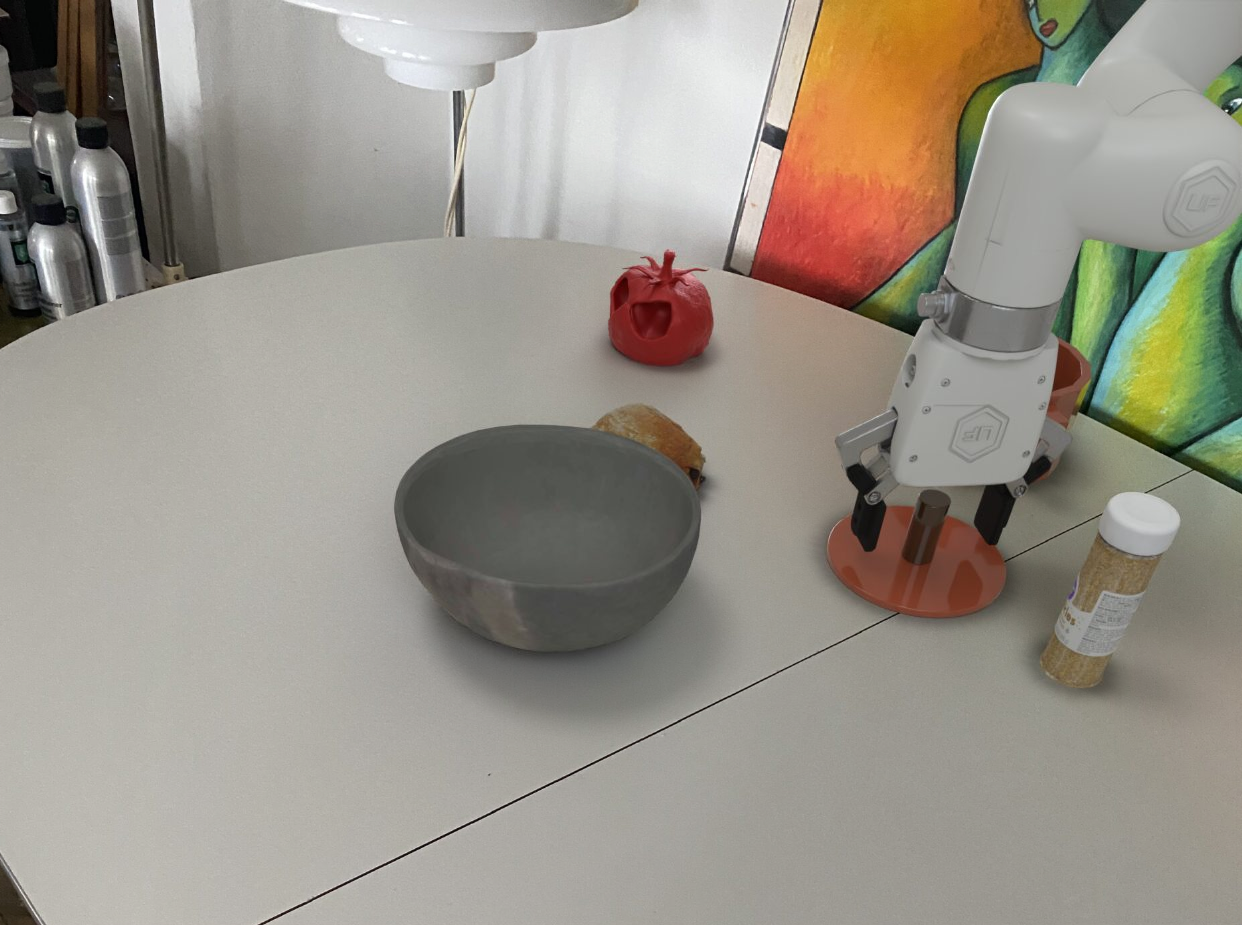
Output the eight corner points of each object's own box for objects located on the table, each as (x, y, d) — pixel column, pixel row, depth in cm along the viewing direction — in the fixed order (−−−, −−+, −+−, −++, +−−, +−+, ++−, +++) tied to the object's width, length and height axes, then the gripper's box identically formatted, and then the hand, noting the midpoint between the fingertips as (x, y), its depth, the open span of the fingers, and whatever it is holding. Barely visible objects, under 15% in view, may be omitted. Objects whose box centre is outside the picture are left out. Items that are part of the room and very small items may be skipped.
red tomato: (667, 318, 117) (677, 217, 110) (730, 363, 112) (746, 260, 105) (582, 340, 113) (588, 236, 106) (644, 387, 108) (654, 282, 101)
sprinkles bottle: (1031, 650, 87) (1102, 485, 77) (1095, 657, 87) (1174, 493, 77) (1041, 691, 84) (1116, 525, 74) (1106, 699, 84) (1190, 534, 74)
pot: (1008, 397, 112) (1039, 305, 105) (1092, 507, 100) (1133, 412, 94) (879, 400, 109) (903, 307, 103) (950, 514, 98) (982, 416, 92)
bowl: (737, 599, 89) (759, 478, 81) (581, 754, 77) (591, 629, 69) (515, 501, 95) (517, 380, 88) (341, 630, 83) (326, 503, 76)
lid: (963, 514, 98) (986, 445, 93) (1030, 619, 89) (1059, 548, 85) (803, 521, 96) (819, 451, 91) (855, 630, 87) (876, 558, 83)
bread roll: (616, 483, 104) (584, 395, 99) (727, 462, 99) (698, 369, 94) (577, 544, 98) (540, 453, 93) (693, 525, 93) (660, 429, 88)
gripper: (886, 342, 74) (829, 574, 87) (1144, 336, 77) (1051, 562, 90) (849, 287, 79) (800, 514, 92) (1093, 283, 81) (1011, 504, 94)
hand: (924, 537), depth 91 cm, fingers open, 9 cm apart
